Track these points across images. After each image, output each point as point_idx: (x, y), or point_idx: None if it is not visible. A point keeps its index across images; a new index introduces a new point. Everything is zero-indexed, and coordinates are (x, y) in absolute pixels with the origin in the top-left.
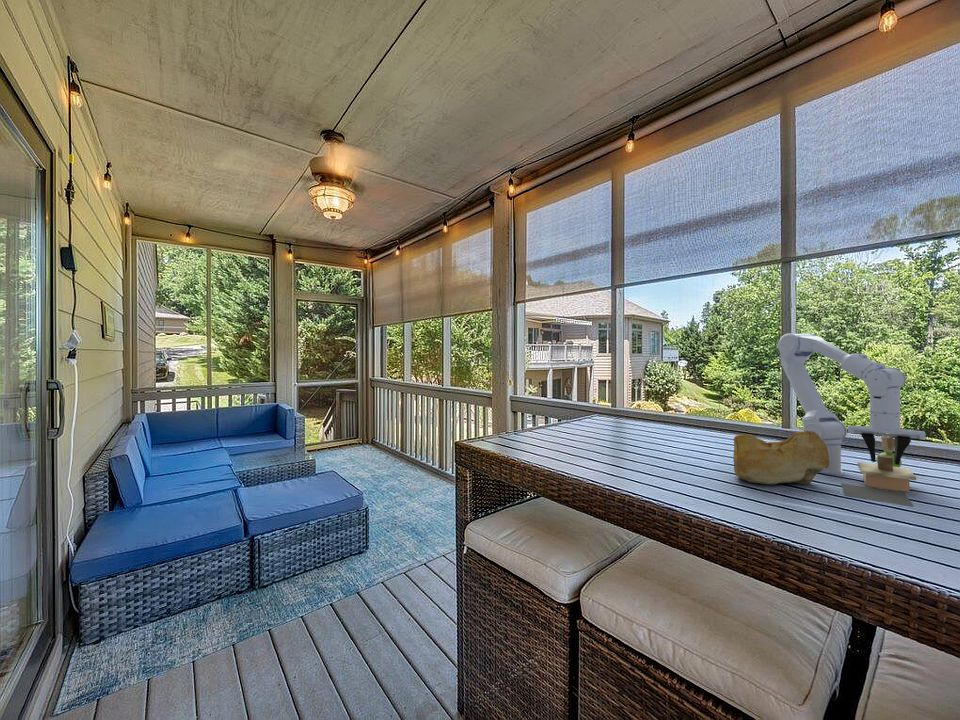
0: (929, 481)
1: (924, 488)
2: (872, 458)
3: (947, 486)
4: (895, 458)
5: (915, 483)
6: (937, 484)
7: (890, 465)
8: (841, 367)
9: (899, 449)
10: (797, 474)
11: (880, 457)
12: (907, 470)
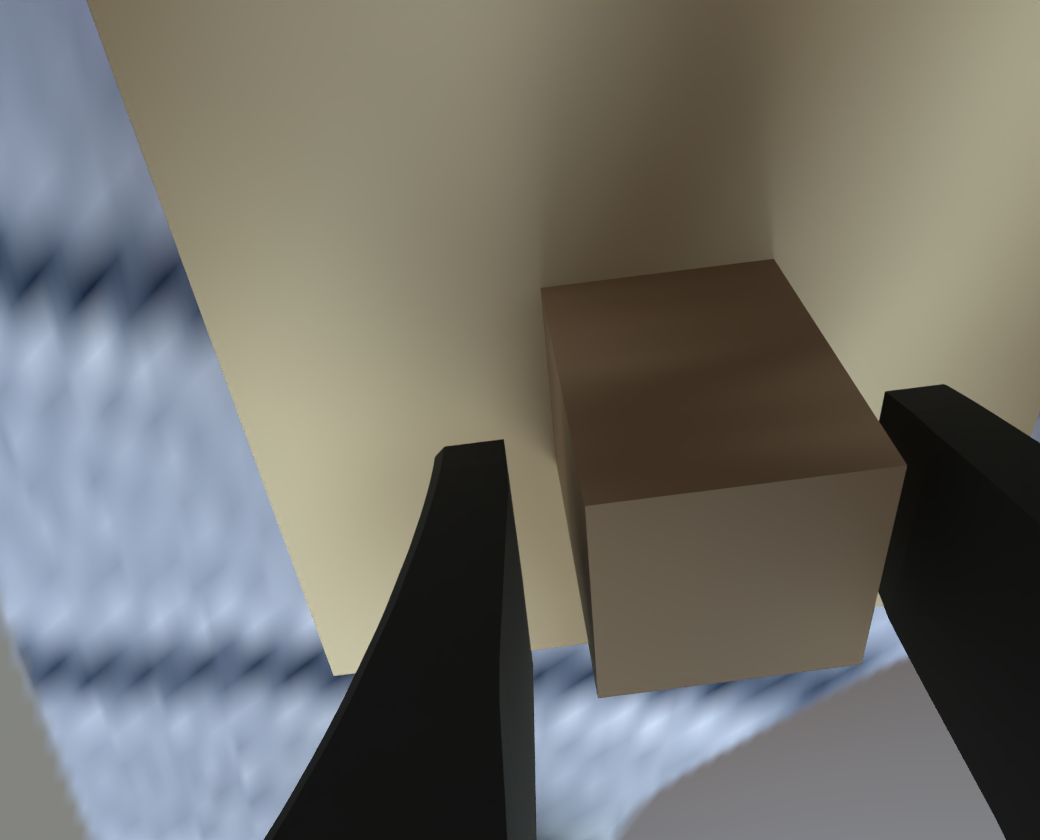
0: (222, 754)
1: (202, 477)
2: (1000, 422)
3: (65, 693)
4: (516, 587)
5: (307, 618)
6: (147, 704)
7: (598, 360)
8: None
9: (431, 819)
10: None
11: (861, 461)
12: (327, 536)
